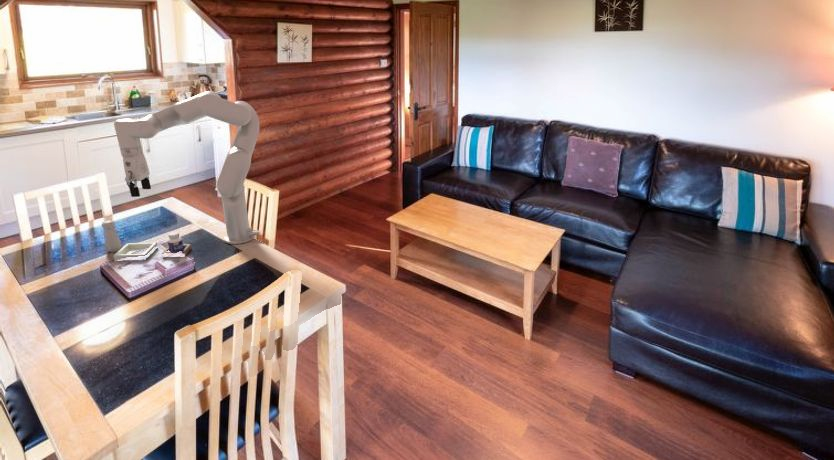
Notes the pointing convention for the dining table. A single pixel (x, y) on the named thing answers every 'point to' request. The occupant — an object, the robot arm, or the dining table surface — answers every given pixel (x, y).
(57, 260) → the dining table surface
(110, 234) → the salt shaker
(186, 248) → the beige square dish
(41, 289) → the dining table surface
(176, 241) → the pill bottle
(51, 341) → the dining table surface
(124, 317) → the dining table surface
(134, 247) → the tray
